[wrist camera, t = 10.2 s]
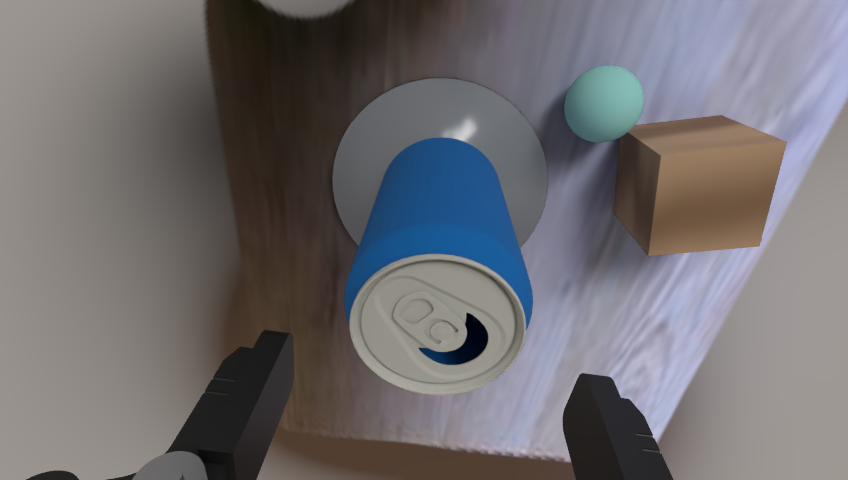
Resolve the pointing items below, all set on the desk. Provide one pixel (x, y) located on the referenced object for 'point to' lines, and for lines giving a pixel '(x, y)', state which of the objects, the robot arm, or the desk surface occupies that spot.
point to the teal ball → (604, 103)
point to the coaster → (440, 117)
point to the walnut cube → (696, 184)
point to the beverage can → (439, 274)
